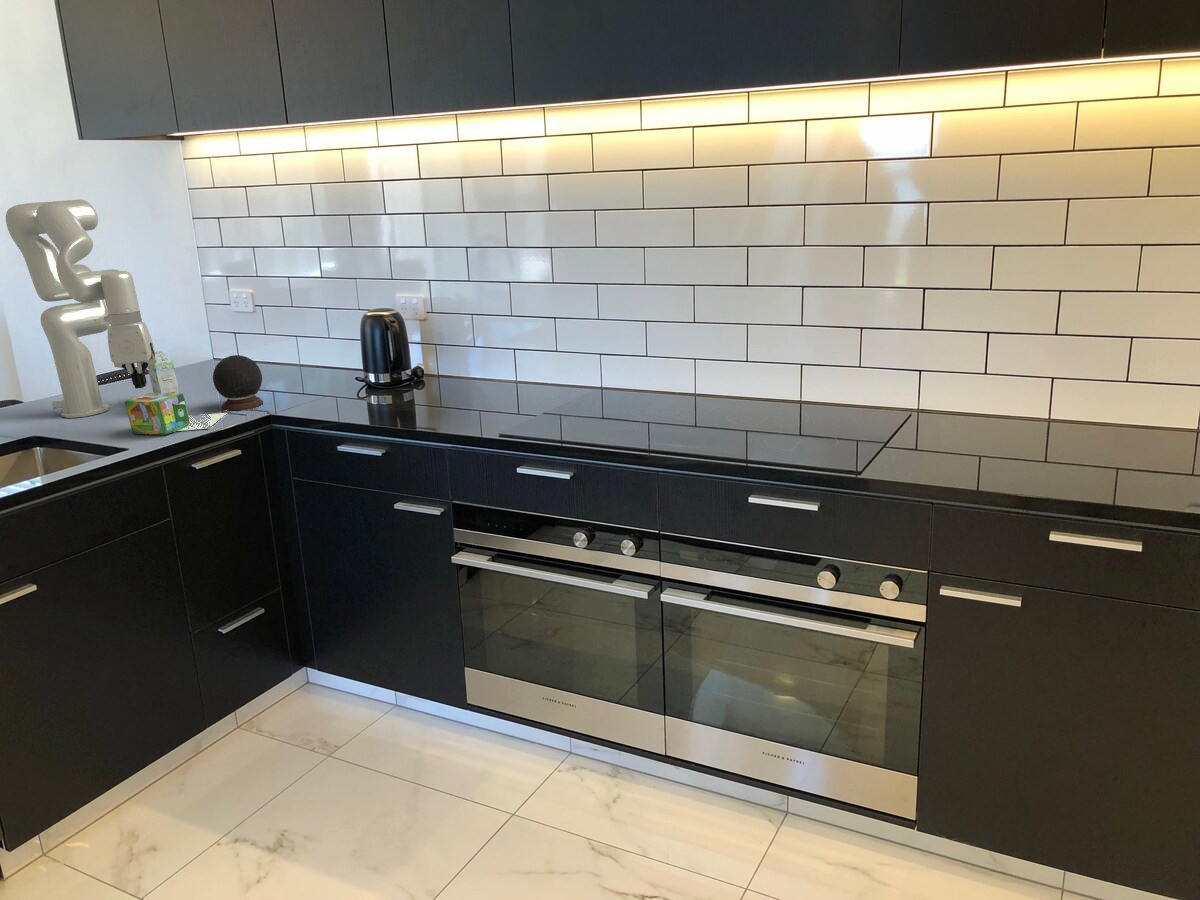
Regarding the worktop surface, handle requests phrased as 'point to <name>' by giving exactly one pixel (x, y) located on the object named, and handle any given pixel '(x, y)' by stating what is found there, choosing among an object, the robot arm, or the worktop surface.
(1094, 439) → the worktop surface
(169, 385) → the snack box
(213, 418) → the mat
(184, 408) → the chalk box
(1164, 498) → the worktop surface
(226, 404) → the dark ball on base
